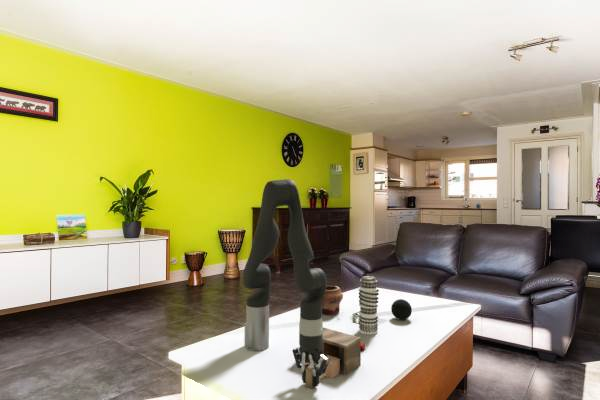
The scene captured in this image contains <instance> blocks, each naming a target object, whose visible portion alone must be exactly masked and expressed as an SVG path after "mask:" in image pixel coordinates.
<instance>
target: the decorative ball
mask: <svg viewBox="0 0 600 400" xmlns="http://www.w3.org/2000/svg"><path fill="white" fill-rule="evenodd" d="M391 313H392V315H393V317H394V318H395V319H397V320H400V321H404V320H407V319H409V318H410V317H411V315H412V306H411V304H410V303H409V301H407V300H405V299H402V298H401V299H396V300H395V301H393V303H392V304H391Z"/></svg>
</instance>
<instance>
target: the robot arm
mask: <svg viewBox="0 0 600 400" xmlns="http://www.w3.org/2000/svg"><path fill="white" fill-rule="evenodd" d="M299 194H300V193H299V190H298V187H297V184H296V183H295V181H294V180H292V179H290V178H289V179H287V178H286V179H276V180H275V179H274V180H269V181H267V182H266V183H265V185H264V188H263V191H262V197H261V205H260V211H259V217H258V221H257V224H256V228H255V231H254V234H253V235H254V236H253V238H252V239H253V240H252V243H251V248H250V251H249V256H248V258H247V261H246V263H245V266H244V269H243V272H242V284H243V286H244V288H245V289H247V290H249V289H250V290H253V289H255V290H256V289H258V290H257V291H255V292H254V293H253V294H251V295H249V296H247V298H246V311H245V312H246V318H245V319H246V321H245V322H244V347H246V349H247V350H249V351H252V352H253V351H255V352H256V351H257V352H258V351H259V352H260V351H263V350H267V349H268V348H269V346H270V343H269V342H270V341H269V340H270V298H271V283H272V282H271V279H272V275H271V269H270V267H269V266H268V265H267V264H262V263H263V262H264V261H265V260H267V259H268V258H269V257H270V256H271V255H273V252H274V251H275V250H276V249H277V245H278V242H279V240H280V239H279V238H280V236H281V234H280V229H279V227H278V226H279V225H278V224H277V222H276V220H275V218H274V216H275V212H276V209H277V208H279V207H285V206H287V208H288V210H289V215H290V218H289V219H290V220H289V227H288V230H287V245H288V247H289V251H290V253H291V256H292V262H293V274H294V275H293V276H294V282H295V286H296V287H297V289H298V290H299V291H300V292H301V293H305V294H307V295H306V296H305V297H304V298H302V299H301V301H300V305H299V307H300V308H299V312H300V314H299V324H298V325H299V327H298V329H299V331H298V334H299V337H298V338H299V340H298V341H299V342H298V343H299V347H296V348H293V349H292V354H293V358H294V361H295V365H296V368H297V369H300V371H301V380H302V383H303V384H306V366H308V365H311V368H312V371H313V378H312V386H313V387H315V388H316V387H318V385H319V384H320V379H319V376H321V375H322V374H324V373H325V371H326V368H327V366H328V363H329V361H330V358H329V357H327V358H326V357H325V356H324V355H323V352H322V338H323V328H324V326H323V325H324V324H323V313H322V302H323V299H324V294H325V290H326V286H328V285H327V282H328V281H327V280H328V279H327V276H326V273H325V271H324V270H323V269H321V268H320V267H314V268H310V262H311V261H312V260H314V257H315V256H314V250H313V249H312V248H313V247H312V246H311V245H312V244H311V243H310V239H309V237H308V234H307V229H306V226H305V220H304V215H303V210H302V204H301V198H300V195H299ZM320 358H321V366H320Z"/></svg>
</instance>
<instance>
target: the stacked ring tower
mask: <svg viewBox="0 0 600 400" xmlns="http://www.w3.org/2000/svg"><path fill="white" fill-rule="evenodd" d="M359 281H360V282H359V284H360V286H359V289H358V291H359V292H358V295H359V296H358V299H359V300H358V302H359V307H360V311H359V316H358V317H359V319H358V321H359V322H358V324H359V326H358V328H359V329H358V331H359V332H360V333H361V334H364V335H377V334H378V332H379V331H378V329H379V328H378V327H379V324H378V322H379V321H378V318H379V317H378V307H379V306H378V303H379V297H378V296H379V295H380V293H378V292H379V291H380V290H379V289H378V280H377V279H376V278H375V276H372V275H364V276H362V277H361V278H360V279H359Z"/></svg>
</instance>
